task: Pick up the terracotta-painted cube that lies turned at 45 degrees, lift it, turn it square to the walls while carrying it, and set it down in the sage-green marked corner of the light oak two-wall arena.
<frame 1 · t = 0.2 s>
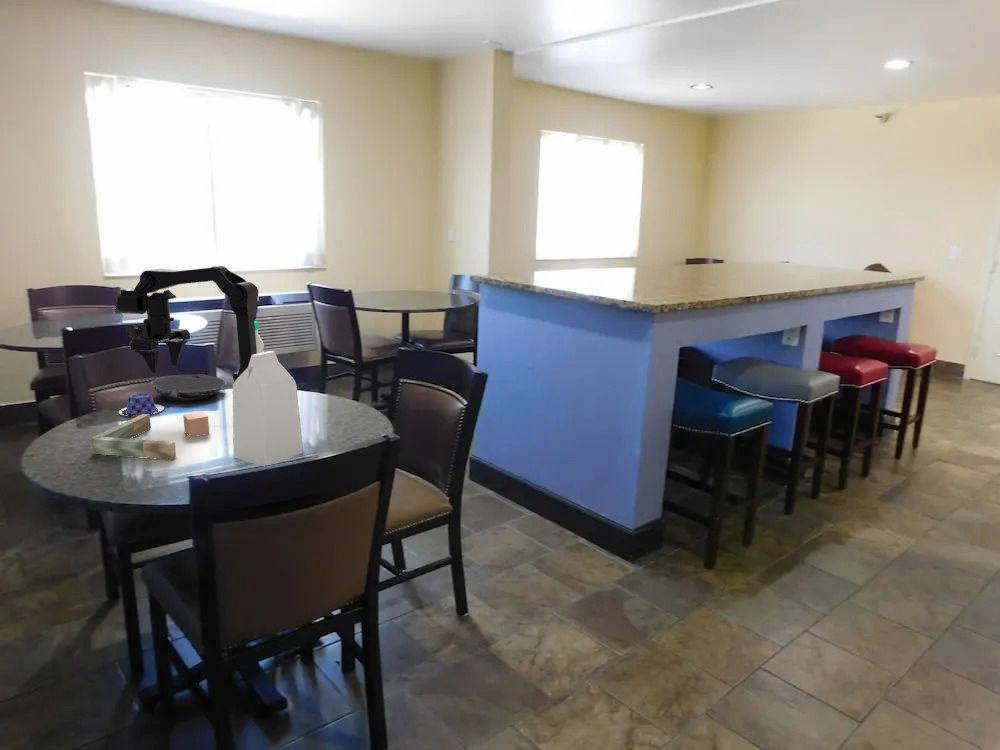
hand: (164, 369, 193), 14 cm above the table, tool pointing down, fingers open, 9 cm apart
cube: (197, 433, 183), on the table
water bottle: (255, 399, 216), on the table
milk: (269, 455, 169), on the table
board: (190, 396, 219), on the table
arena: (141, 445, 173), on the table
pudding: (142, 412, 201), on the table
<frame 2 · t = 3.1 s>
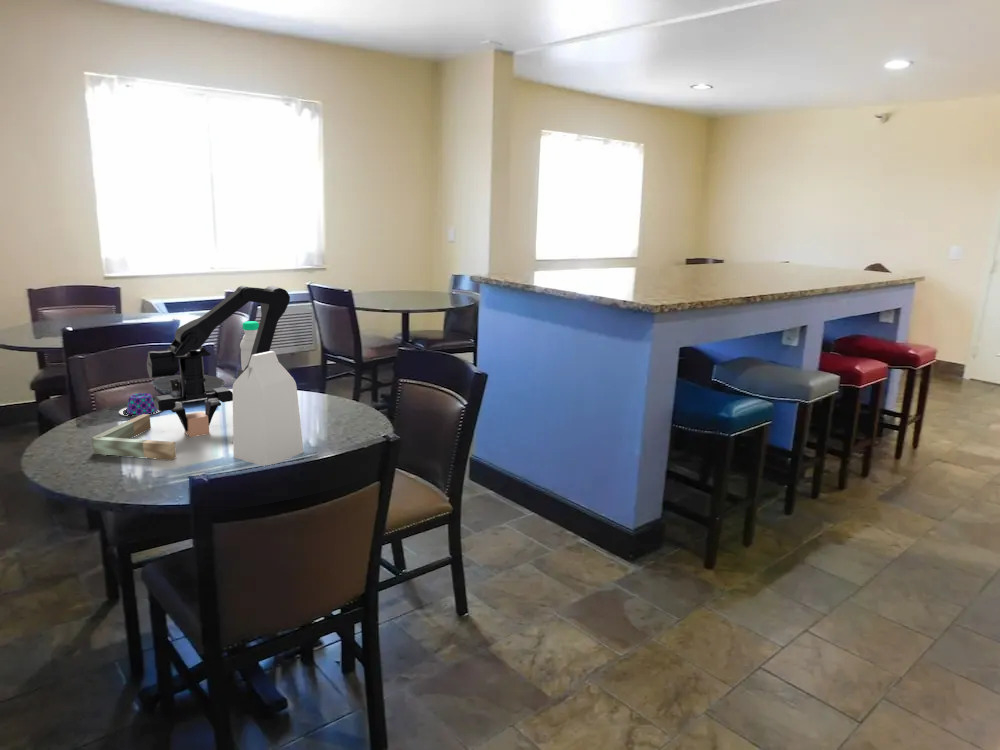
hand: (196, 429, 183), 1 cm above the table, tool pointing down, fingers closed on cube, 5 cm apart
cube: (197, 432, 183), on the table, touching gripper
everything else where it was.
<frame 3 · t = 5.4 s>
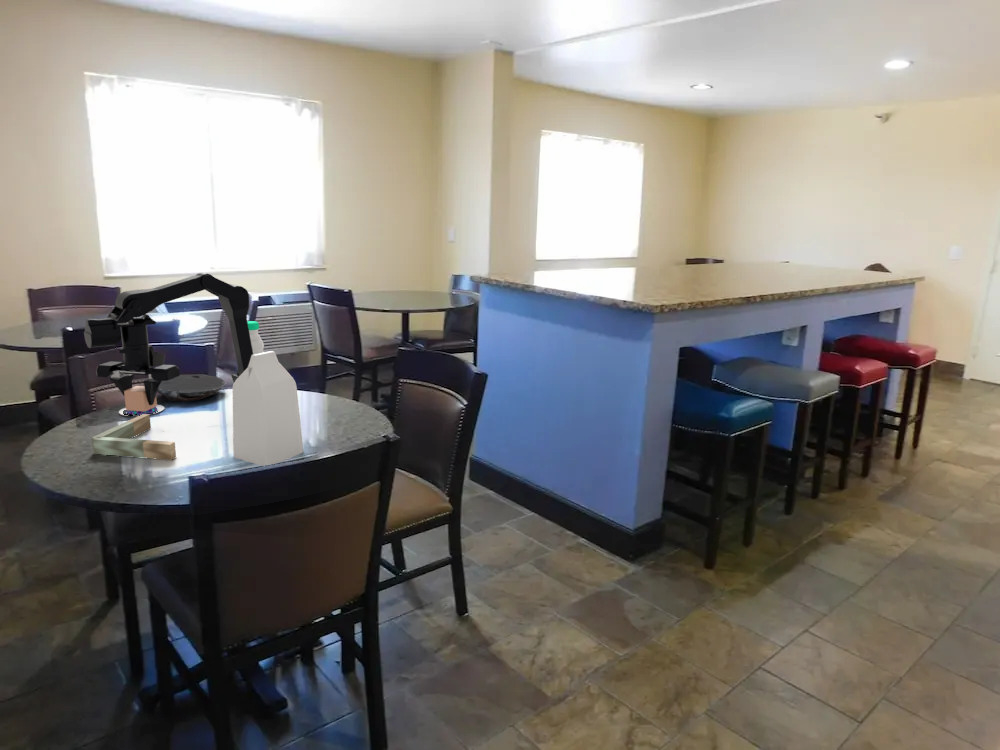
hand: (141, 404, 170), 11 cm above the table, tool pointing down, fingers closed on cube, 5 cm apart
cube: (141, 408, 170), point 10 cm above the table, touching gripper
everything else where it was.
when the fingers open (2 cm above the table, at t = 7.8 s): cube drops 1 cm, on the table.
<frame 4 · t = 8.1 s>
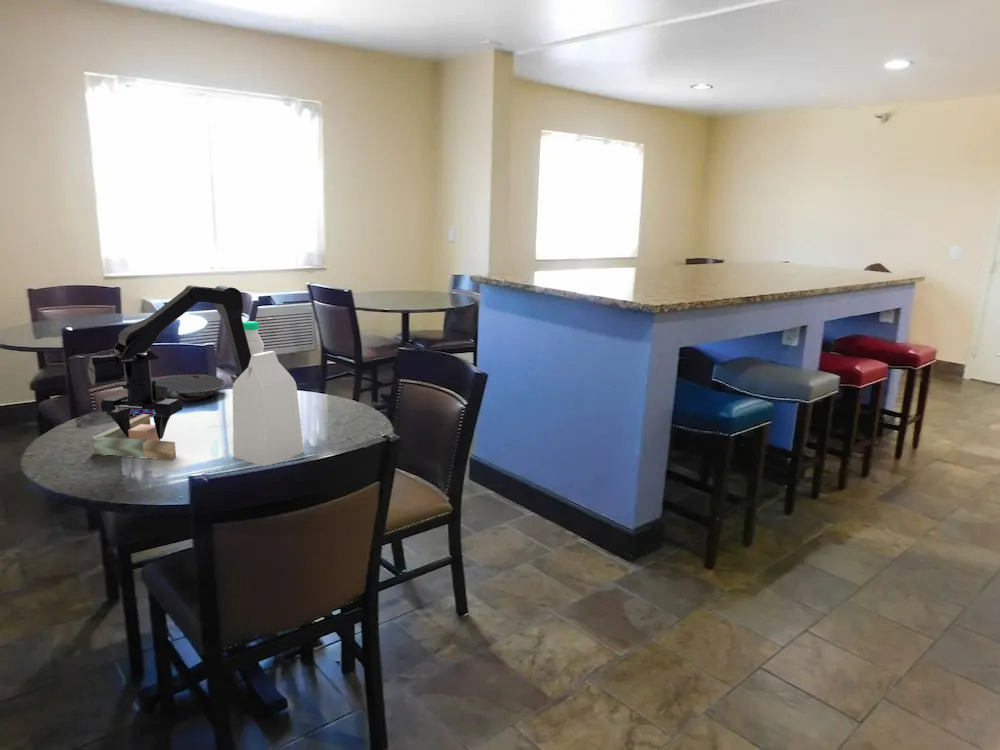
hand: (144, 437, 172), 2 cm above the table, tool pointing down, fingers open, 8 cm apart
cube: (145, 446, 173), on the table
everything else where it was.
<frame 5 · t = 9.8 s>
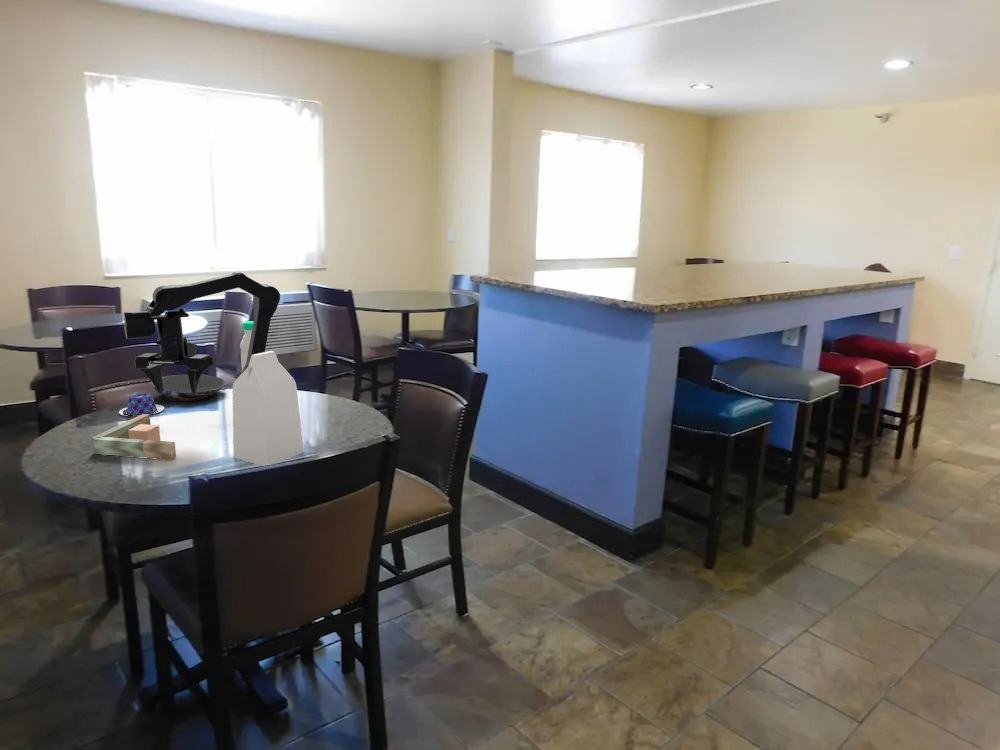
hand: (177, 392, 180), 11 cm above the table, tool pointing down, fingers open, 9 cm apart
nothing on the table moved.
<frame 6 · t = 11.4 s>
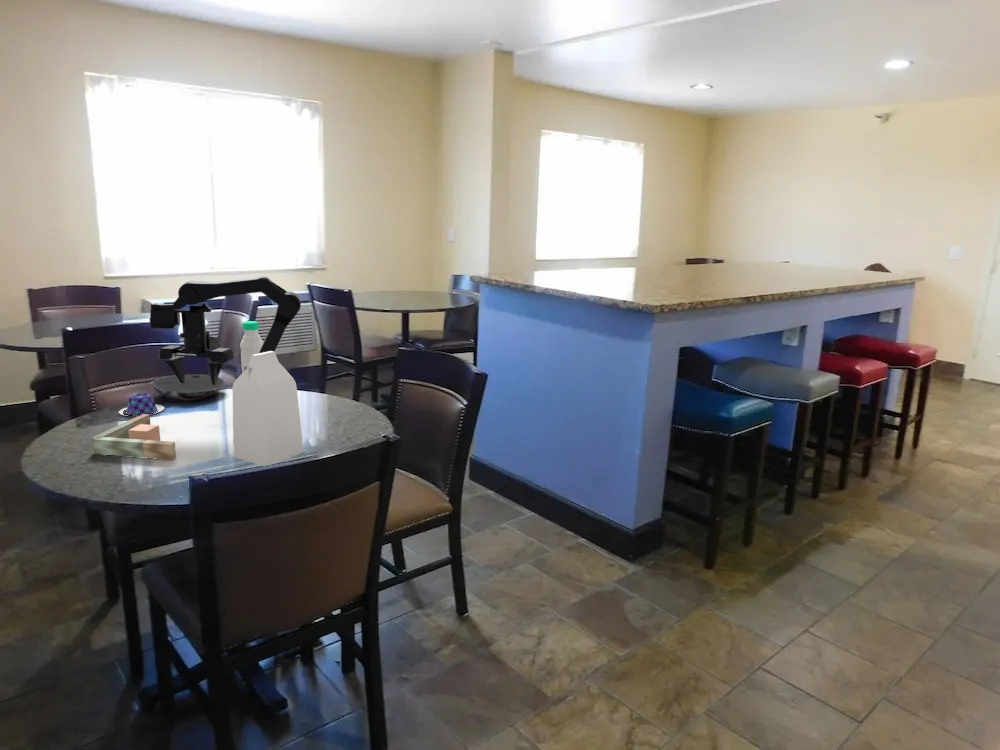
hand: (198, 384, 187), 12 cm above the table, tool pointing down, fingers open, 9 cm apart
nothing on the table moved.
at the end: cube inside the target area (1.2 cm from its centre), on the table; cube tilted 0°; the gripper is holding nothing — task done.
